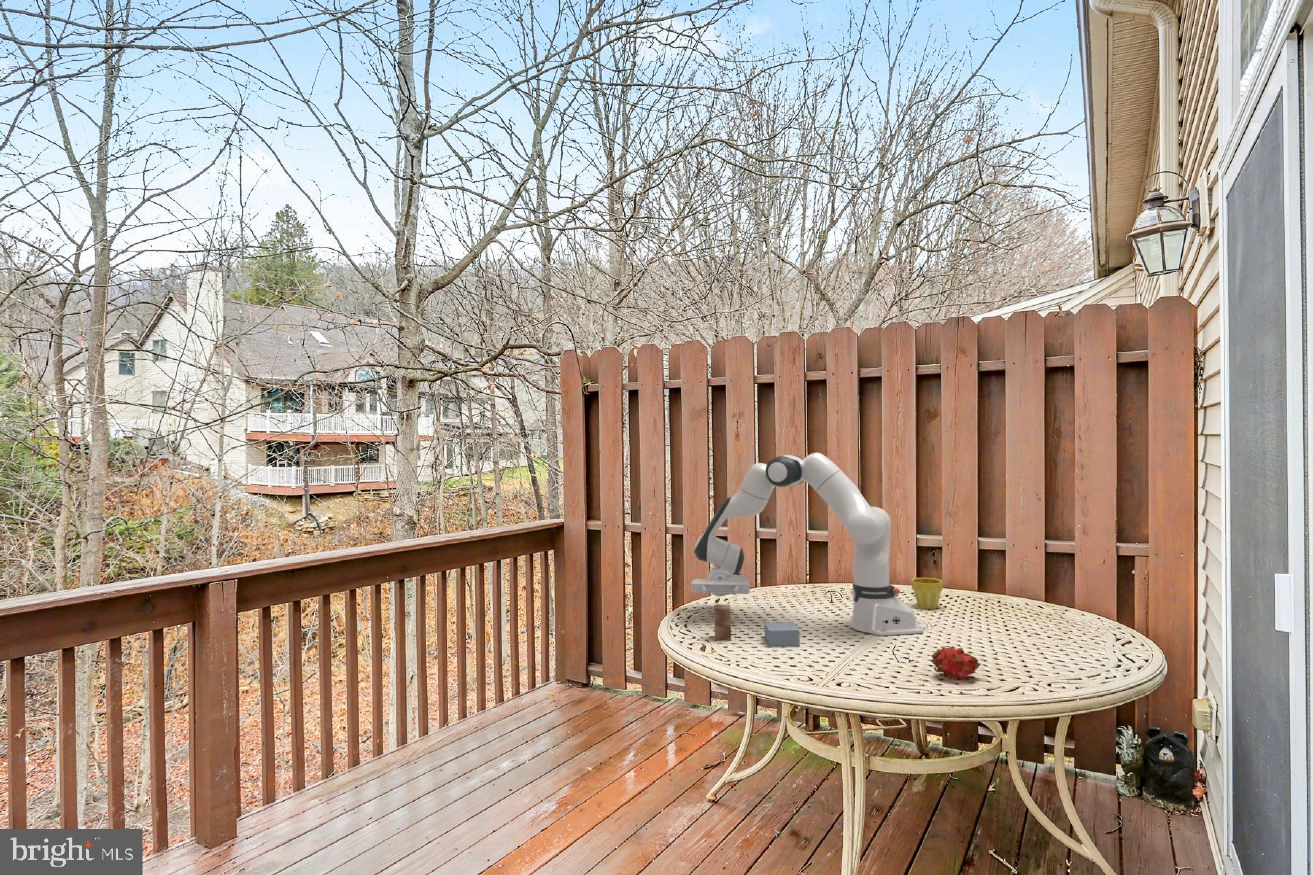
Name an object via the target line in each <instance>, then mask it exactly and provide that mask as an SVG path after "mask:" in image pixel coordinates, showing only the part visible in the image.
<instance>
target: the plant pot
mask: <svg viewBox="0 0 1313 875" xmlns="http://www.w3.org/2000/svg"><path fill="white" fill-rule="evenodd" d="M911 589H912V590H913V591H914V596H915V599H916V604H917V607H918V608H919V607H921V608H920V609H923V608H925V609H924V610H937V609H938V607H939V602H940V597H941V592H942V591H943V581H942V580H941V579H938V578H933V577H915V578H912V579H911Z"/></svg>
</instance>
